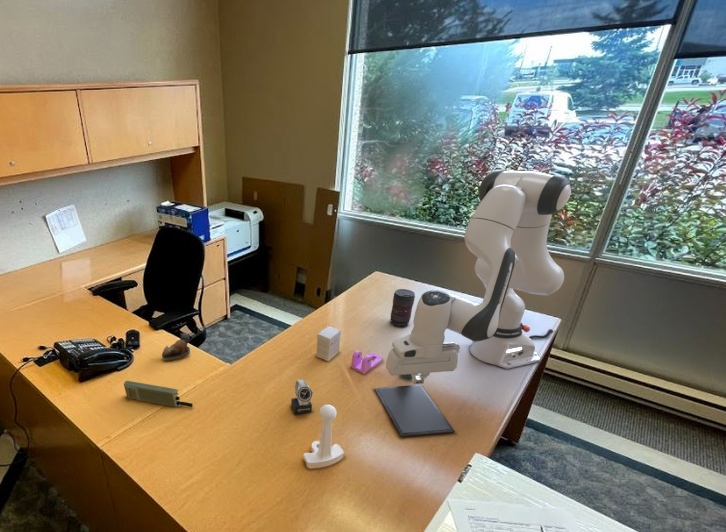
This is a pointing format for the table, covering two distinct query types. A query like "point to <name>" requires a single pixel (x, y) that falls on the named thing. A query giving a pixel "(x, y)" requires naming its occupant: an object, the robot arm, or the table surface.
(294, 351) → the table surface
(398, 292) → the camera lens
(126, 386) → the handheld radio
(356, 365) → the bracket
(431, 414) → the tablet
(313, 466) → the joystick
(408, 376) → the pen cup
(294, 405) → the watch
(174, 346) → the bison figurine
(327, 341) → the small box
